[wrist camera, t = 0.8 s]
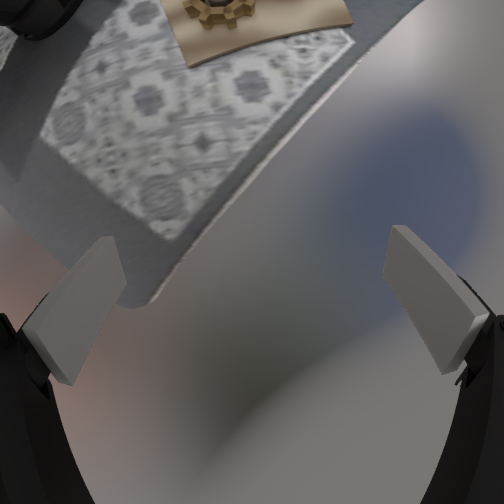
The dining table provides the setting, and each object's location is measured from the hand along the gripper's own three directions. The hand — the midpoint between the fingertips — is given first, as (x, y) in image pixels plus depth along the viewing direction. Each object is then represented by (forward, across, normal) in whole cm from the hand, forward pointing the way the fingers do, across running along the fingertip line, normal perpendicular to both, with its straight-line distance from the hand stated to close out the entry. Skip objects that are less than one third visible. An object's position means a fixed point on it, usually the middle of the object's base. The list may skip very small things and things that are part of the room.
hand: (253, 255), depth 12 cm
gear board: (+25, +1, +23) cm, 34 cm away
